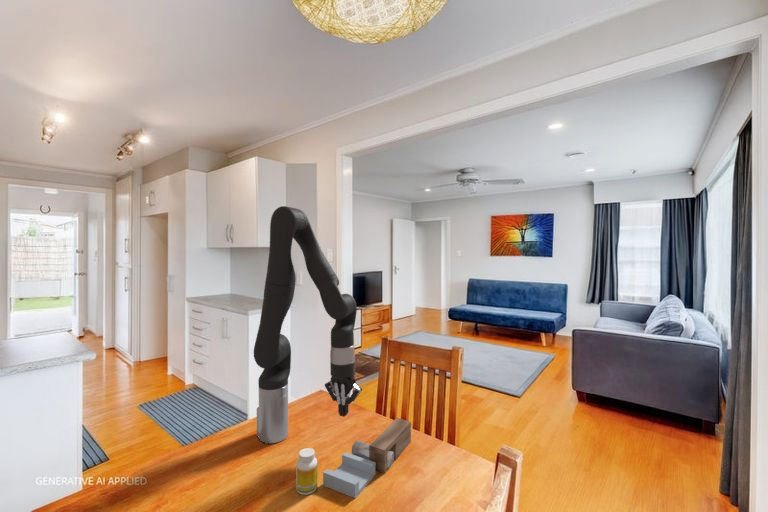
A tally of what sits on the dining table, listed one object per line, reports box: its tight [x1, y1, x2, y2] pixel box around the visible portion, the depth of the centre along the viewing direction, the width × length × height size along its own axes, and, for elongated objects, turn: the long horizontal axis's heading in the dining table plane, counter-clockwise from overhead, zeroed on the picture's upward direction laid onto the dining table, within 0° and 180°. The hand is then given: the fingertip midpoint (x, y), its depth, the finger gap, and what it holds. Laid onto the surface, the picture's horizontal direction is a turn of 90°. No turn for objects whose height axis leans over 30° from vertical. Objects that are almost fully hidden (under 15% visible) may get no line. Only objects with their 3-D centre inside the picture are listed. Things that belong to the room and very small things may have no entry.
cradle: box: [322, 451, 377, 499], centre depth 94 cm, size 10×10×4 cm
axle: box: [351, 440, 395, 469], centre depth 103 cm, size 12×4×4 cm, turn 62°
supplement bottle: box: [295, 447, 318, 496], centre depth 91 cm, size 5×5×10 cm
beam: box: [369, 417, 412, 474], centre depth 106 cm, size 5×18×7 cm, turn 152°
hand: (343, 415), depth 108 cm, fingers closed
